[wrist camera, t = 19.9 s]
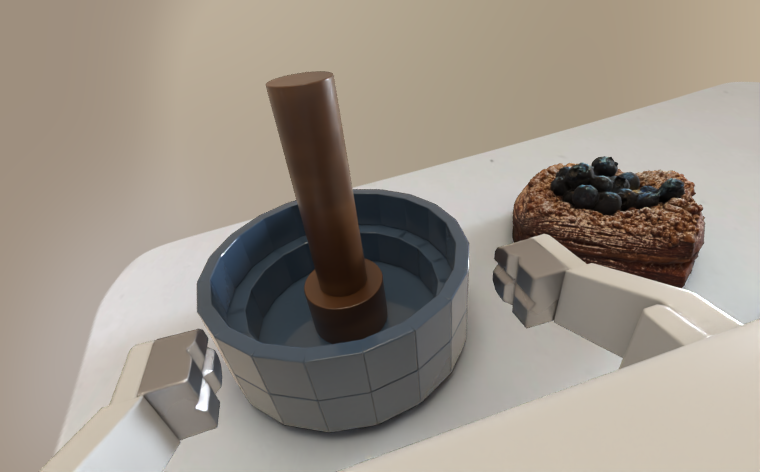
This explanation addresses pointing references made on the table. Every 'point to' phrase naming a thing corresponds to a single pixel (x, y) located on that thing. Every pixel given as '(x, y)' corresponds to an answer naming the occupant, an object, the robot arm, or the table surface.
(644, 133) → the table surface
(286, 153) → the pestle
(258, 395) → the bowl
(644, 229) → the pastry
